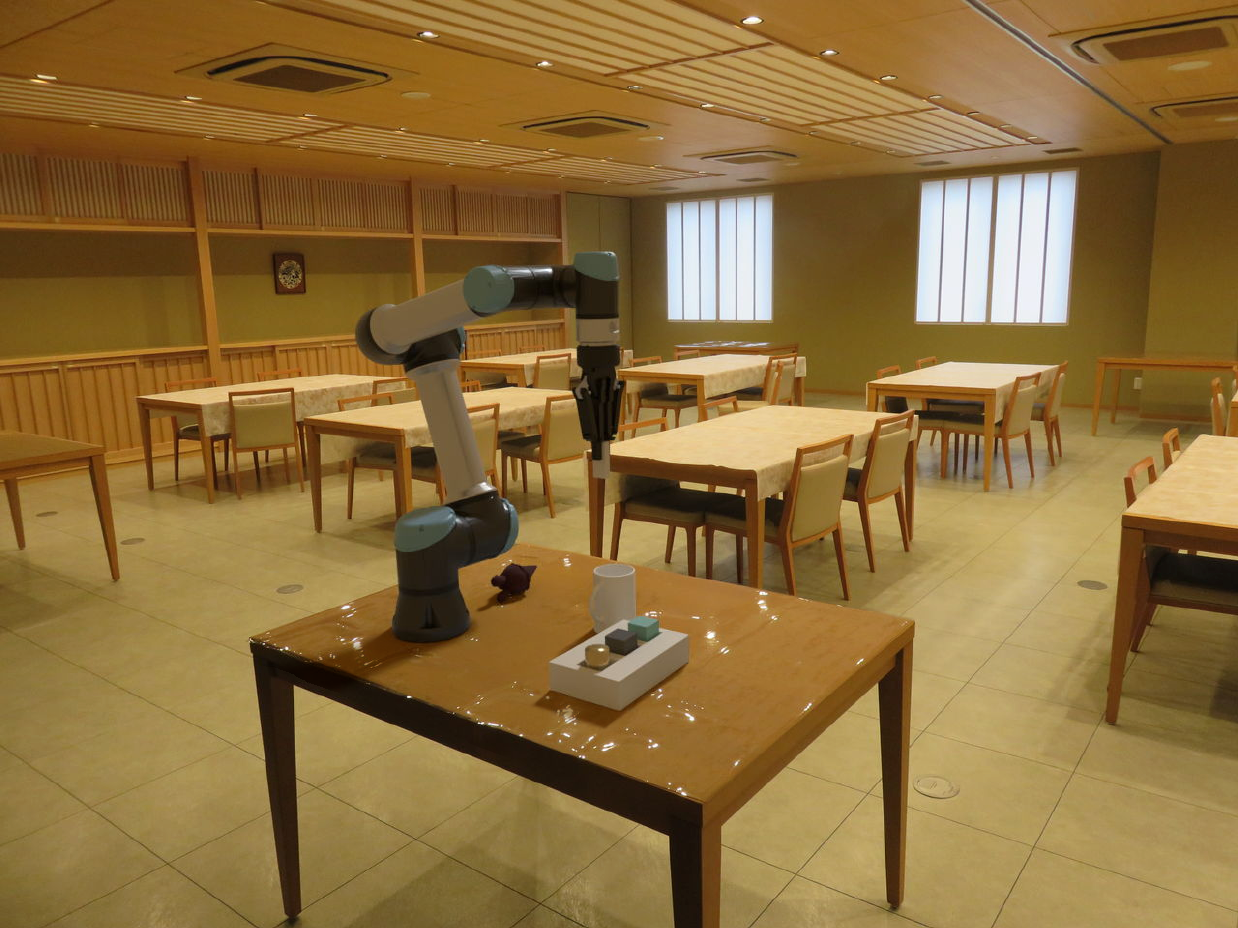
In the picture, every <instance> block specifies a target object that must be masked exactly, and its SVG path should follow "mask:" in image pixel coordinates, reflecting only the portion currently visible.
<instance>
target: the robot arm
mask: <svg viewBox="0 0 1238 928" xmlns="http://www.w3.org/2000/svg"><path fill="white" fill-rule="evenodd" d="M619 273H620V272H619V263H618V257H617V255H616V253H614V252H613V251H580V252H576V253H575V254H574V255H573V263H572V264H531V265H527V264H526V265H524V264H523V265H501V264H499V265H498V264H486V265H482V266H480V265H479V266H475V267H473V268H471V269H469V271H468V273H467V274H466V275H465V277H464V278H462V279H459V280H457V281H455V282H452V283H450V284H447V285H445V286H443V287H440V288H437V289H434V290H432V291H430V292H428V293H425V294H422V295H419V296H416V297H414V298H412V299H410V300H409V299H408V300H406V301H404V302H402V303H399V304H396V305H395V304H392V303H385V304H381V305H379V306H377V307H374V308H371V309H369V310H367V311H365V312H364V313H363V314H362V315H361V316H359V317H360V318H359V319H358V320H357V322H356V323H355V324H356V325H355V328H354V340H355V344H356V346H357V348H358V350H359V351H360V352H361V354H362V355H363V356H365V358H367V359H368V360H370V361H371V362H373V363H375V364H378V365H381V366H382V365H383V366H400V365H401V366H402V368H403V371H404V374H405V375H404V376H406V378H408V379H409V380H411V381H413V382H414V383H415V385H416V389H417V392H418V396H419V400H420V402H421V406H422V410H423V414H424V417H425V421H426V424H427V428H428V431H429V435H430V438H431V441H432V442H431V443H432V445H433V448H434V452H435V455H436V459H437V460H436V461H437V463H438V466H439V467H438V468H439V469H440V473H441V476H442V480H443V484H444V487H445V490H446V496H445V498H444V500H443V502H442V505H430V506H428V507H420V508H417V509H414V510H411V511H409V512H406V513H404V514H403V515H402V516H400V517H399V518H398V519H397V521H396V522H395V525H394V540H393V544H394V548H395V559H396V561H395V562H396V573H397V584H398V585H397V586H398V587H397V588H398V595H397V599H396V600H397V601H396V605H395V610H394V615H393V616H392V619H391V628H392V629H391V630H392V631H391V632H392V634H393V636H395V637H396V638H398V639H400V640H402V641H404V642H405V641H406V642H411V643H431V642H441V641H445V640H449V639H453V638H455V637H458V636H460V635H462V634H463V633H465V632H466V631H467V630H469V628H470V626H471V613H470V610H469V609H468V607H467V605H466V601H465V598H464V595H463V594H462V591H461V589H460V582H459V581H460V578H459V570H460V569H464V568H465V567H469V566H472V565H475V564H478V563H480V562H484V561H488V560H492V559H495V558H498V557H499V556H500V555H501V556H502V555H503V554H505V553H507V552H509V551H510V550H512V548H513V547H514V546H515V543H516V540H517V539H518V537H519V532H520V521H519V515H518V513H517V510H516V508H515V506H514V505H513V504H511V502H510V501H509V499H506V498H503V497H501V496H500V493H499V489H498V488H497V487H495V486H494V485H493V484H490V483H489V481H488V478H487V475H486V470H485V467H484V464H483V461H482V457H481V454H480V450H479V447H478V443H477V440H476V437H475V436H476V435H475V433H474V429H473V425H472V421H471V418H470V415H469V412H468V408H467V404H466V401H465V397H464V394H463V390H462V387H461V383H460V379H459V376H458V373H457V371H458V369H459V367H460V365H461V363H462V361H461V357H460V356H461V355H462V354H463V353H464V351H465V347H466V345H465V344H464V343H466V340H467V339H466V332H465V327H464V326H467V325H469V324H472V323H475V322H478V321H482V320H484V319H486V318H489V317H494V316H497V315H500V314H502V313H506V312H514V311H528V310H529V311H531V310H546V309H548V310H549V309H550V310H551V309H574V310H575V311H574V312H575V341H576V343H579V344H578V345H577V347H576V365H577V366H578V367H579V368H581V369H582V371H581V376H580V383H579V385H578V386H577V387H576V386H573V387H572V389H571V392H572V395H573V398H574V399H575V402H576V403H575V404H576V409H577V414H578V420H579V425H580V431H581V435H582V439H583V440H585V442H590V449H591V453H590V454H591V460H592V478H595V479H596V478H597V479H602V480H603V479H604V480H606V479H608V478H611V459H610V457H611V441H615V440H616V438H617V437H616V436H617V435H618V433H619V424H620V417H621V416H620V414H621V408H622V407H621V405H622V398H623V393H624V389H625V385H626V382H625V380H621V379H619V378H617V375H618V374H617V371H616V367H618V366H620V365H621V346H620V344H619V343H617V342H618V341H619V340H620V339H621V337H620V336H621V335H620V312H619V311H620V310H619V306H620V305H619V302H620V298H619V296H620V294H619V293H620V275H619Z"/></svg>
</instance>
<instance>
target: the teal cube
mask: <svg viewBox="0 0 1238 928" xmlns="http://www.w3.org/2000/svg"><path fill="white" fill-rule="evenodd" d="M659 628H660V620H659V619H656V618H651V617H648V616H644V615H638V616H636V618H635V619H633V620H632V621H630V622H628V631H631V632H635V633H637V639H638V640H642V641H646V642H649V641H650V640H652V639H653V638H655V637H657V636H658V635H659Z"/></svg>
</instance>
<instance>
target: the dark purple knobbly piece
mask: <svg viewBox="0 0 1238 928" xmlns="http://www.w3.org/2000/svg"><path fill="white" fill-rule="evenodd" d="M537 568H538V566H537V565H535V564H531V565H521V564H517V563H514V562H512V563H510V564H509V565H506V567H505V568H504V569H503V570H502V572H501V573H500V575H498V574H495V576H493V577H492V578H491V579H490V584H491V585H492V587H494V588H495V587H496V588H498V589H499V590H501V591H499V592H498V593H497V595H496V601H497V603H499V604H500V603H504V602H506V601H507V599H508V598H509V597H510V595H519V594H523V593H524V592H526V591H528V590H529V589H530V587H531V586H530V585H531V580H532V576H533V574H534V573H535V571H536V570H537Z"/></svg>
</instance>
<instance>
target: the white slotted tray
mask: <svg viewBox="0 0 1238 928" xmlns="http://www.w3.org/2000/svg"><path fill="white" fill-rule="evenodd" d="M628 622H630V621H628V620H624V619H623V620H621V621H620V622H618V623H616V624H614V625H613V626H611V627H609V628H607V629H606V630H604V631H602V632H600V633H599V634H597V633H596V634H595V635H594V636H592V637H590V638H588V639H587V640H584V641H583V642H581V643H580V644H578V645H575V646H574V647H573V648H570V649H569V650H567V651H565V652H564V653H562V654H561V655H559V656H557V657H555V658H554V659H552V660H550V661H548V666H549V667H548V668H549V669H548V670H549V690H550V691H553V692H556V693H559V694H563V695H566V696H569V697H572V698H576V699H578V700H583V701H586V702H589V703H592V704H596V705H599V706H602V707H606V708H608V709H612V710H615V711H619V712H620V711H622V710H623V709H625V708H626V707H627V706H629V705H630V704H632V703H633V702H634V701H635V700H637V699H638V698H640V697H641V696H643V695H644V694H646V693H647V692H649V691H650V690H651V689H653V688H654V687H655V686H657V685H658V684H659V683H661V682H662V681H664V680H665V679H667V678H668V677H669V676H671V675H672V674H674V673H675V672H676V671H677V670H679V669H680V668H682V667H683V666H685V665H686V664H687V663H689V662H690V634H687V633H684V632H679V631H674V630H669V629H666V628H661V627H659V635H658V636H657V637H655V638H653V639H652V640H650V641H649V642H646V641H642V640H638V639H637V644H638V649H636V650H634V651H633V652H631V653H630V654H628V655H627V656H622V655H619V654H615V653H611V652H609V654H610V666H609V667H608V668H606V669H605V670H603V671H597V670H593V669H590V668H586V665H585V648H586V647H587V646H589V645H592V644H604V645H605V636H606V635H608V634H609V633H611V632H613V631H614V630H616V629H623V630H627V631H628Z"/></svg>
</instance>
